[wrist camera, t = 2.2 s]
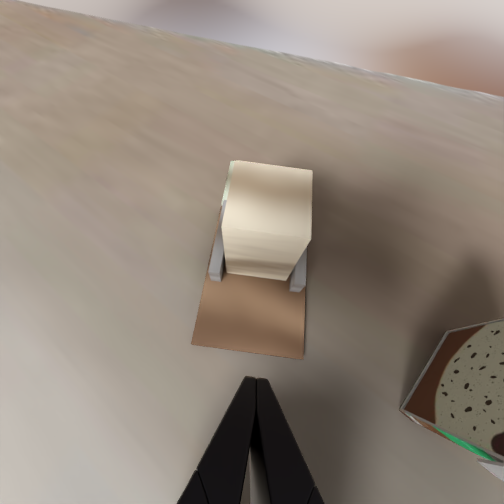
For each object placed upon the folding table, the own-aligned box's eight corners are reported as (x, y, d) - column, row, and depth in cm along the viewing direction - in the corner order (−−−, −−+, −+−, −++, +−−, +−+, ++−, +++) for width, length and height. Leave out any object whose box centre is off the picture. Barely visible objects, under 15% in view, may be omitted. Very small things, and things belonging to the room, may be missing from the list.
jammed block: (285, 280, 24) (311, 238, 16) (226, 272, 24) (221, 226, 16) (289, 229, 26) (312, 170, 18) (235, 222, 26) (235, 160, 18)
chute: (301, 359, 22) (311, 359, 19) (192, 344, 22) (185, 341, 19) (306, 175, 31) (314, 156, 28) (231, 165, 31) (230, 144, 28)
